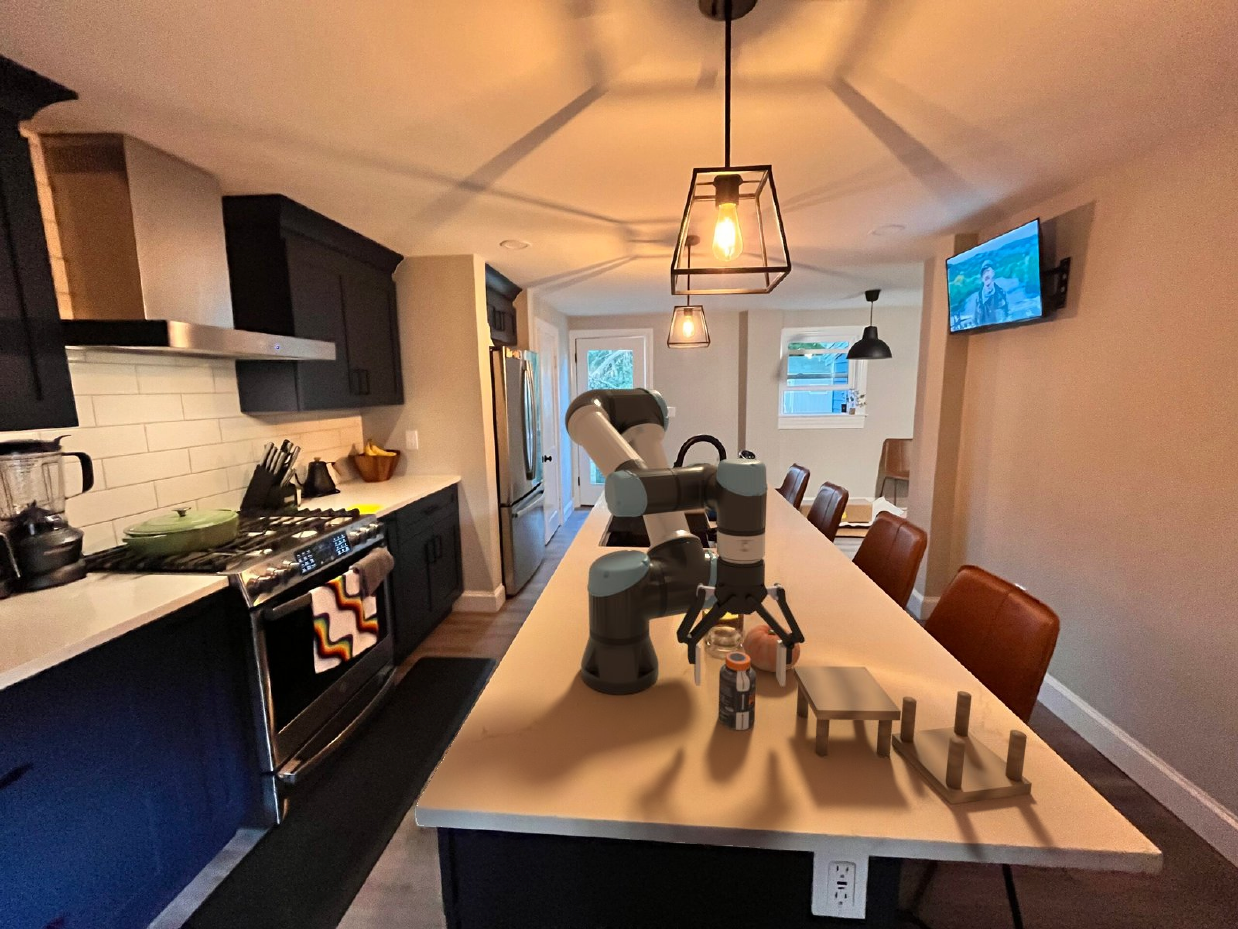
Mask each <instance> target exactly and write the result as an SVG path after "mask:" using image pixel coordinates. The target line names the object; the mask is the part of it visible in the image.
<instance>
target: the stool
mask: <svg viewBox="0 0 1238 929" xmlns="http://www.w3.org/2000/svg"><path fill="white" fill-rule="evenodd" d="M792 675H793V677H794V680H795V681H796V683H797V693H796V694H797V695H796V696H797V699H796V700H797V701H796V716H797V717H799V718H802V719H806V718H808V717H809V708H811V711H812V712H813V714H814V716H815V718H816V724H815V725H816V726H815V727H816V728H815V747H814V749H815V750H814V753H815V754H816V755H817V756H819V757H821V758H826V757H828V756H829V739H830V738H829V737H830V721H831V720H832V721H833V720H834V721H835V720H837V721H839V720H840V721H878V724H877V725H878V726H877V738H876V754H877V755H878V756H879V757H881V758H885V759H888V758H890V756H891V744H892V731H893V730H892V729H893V721H901V718H902V710H901V709H900V708H899V707H898V706H897V704H896V703H895V701H893V700H892V698H891V697H890V695H889V694H888V693H887V692H886V691H885V689H883V687H882V686H881V684H880V683H879V682H878V681H877V680H876V678H875V677H874V676H873V675H872V673H871V672H870V671H869V670H868V668H867V667H866V666H830V665H829V666H827V665H825V666H819V665H817V666H814V665H813V666H811V665H810V666H808V665H807V666H806V665H803V666H802V665H794V666H793V667H792Z"/></svg>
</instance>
